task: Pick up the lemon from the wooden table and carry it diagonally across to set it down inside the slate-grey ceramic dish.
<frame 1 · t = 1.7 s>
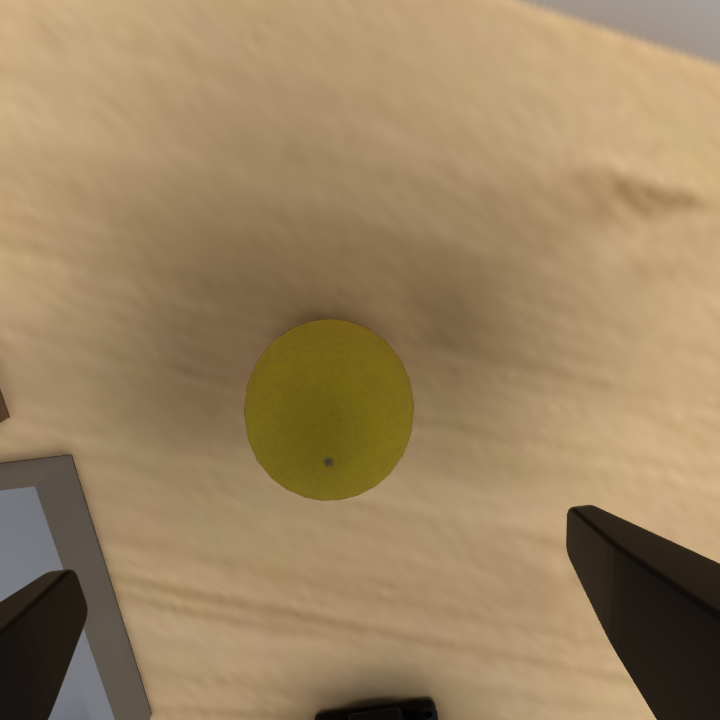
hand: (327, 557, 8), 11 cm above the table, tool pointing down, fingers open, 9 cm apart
lemon: (331, 367, 20), on the table
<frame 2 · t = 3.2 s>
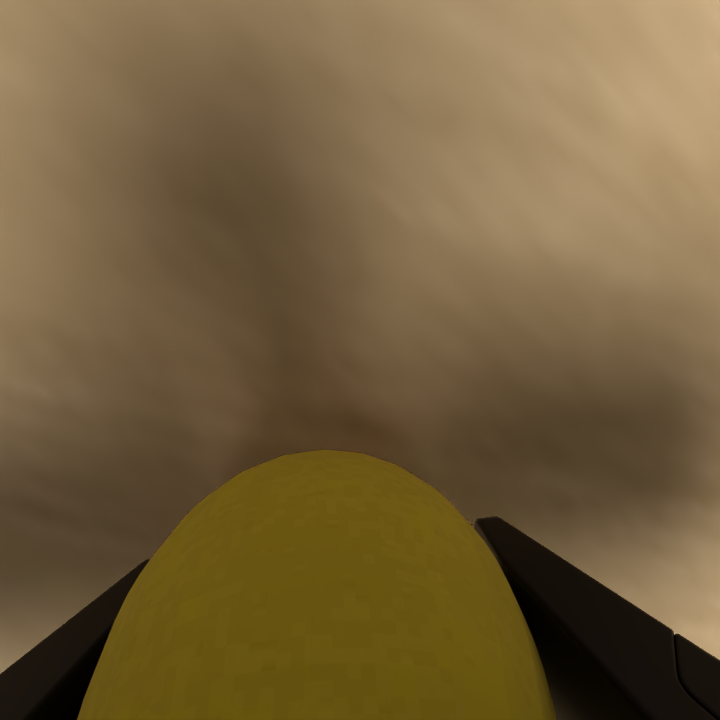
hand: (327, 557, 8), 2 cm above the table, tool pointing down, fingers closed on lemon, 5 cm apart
lemon: (328, 499, 10), on the table, touching gripper
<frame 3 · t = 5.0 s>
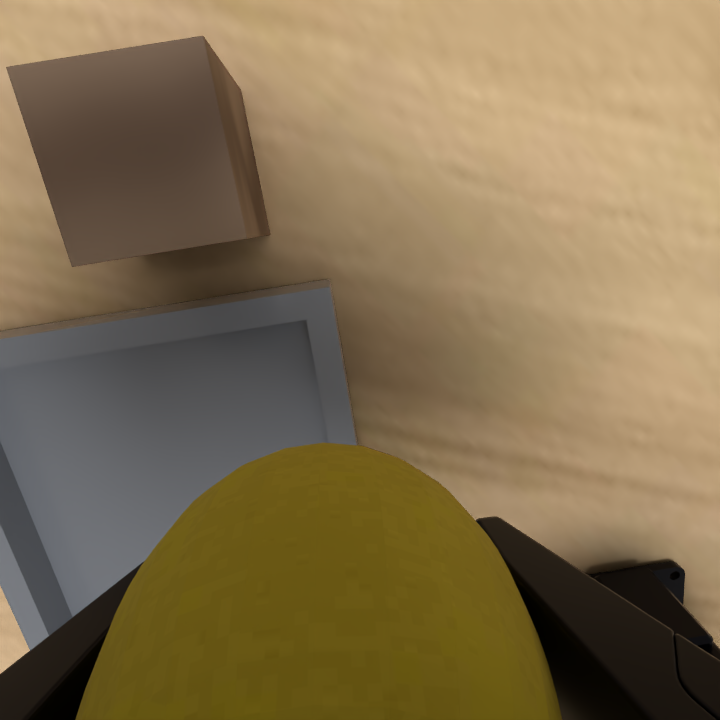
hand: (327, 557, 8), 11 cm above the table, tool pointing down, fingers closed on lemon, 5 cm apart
dish: (190, 475, 20), on the table
lemon: (329, 494, 10), point 10 cm above the table, touching gripper
walnut block: (189, 176, 17), on the table
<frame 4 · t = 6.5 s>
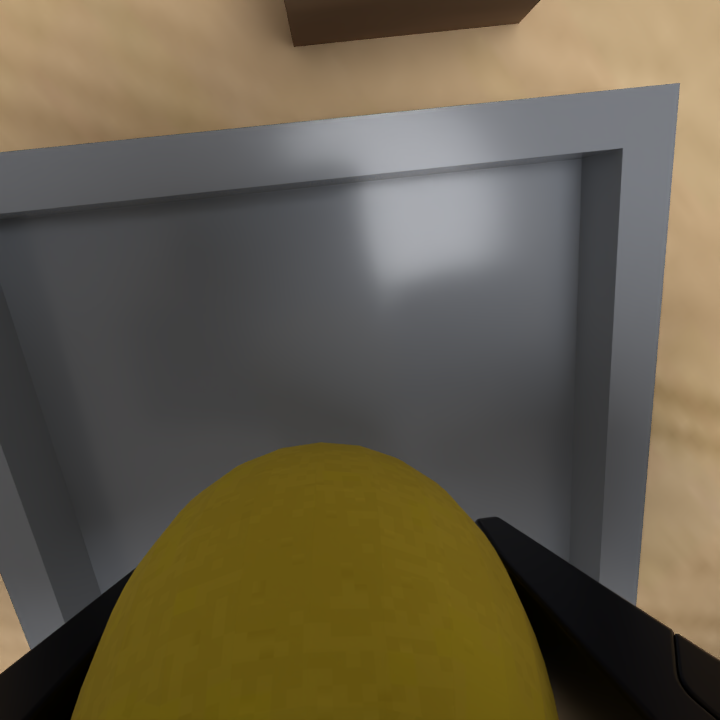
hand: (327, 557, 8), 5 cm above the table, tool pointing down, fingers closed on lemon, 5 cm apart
dish: (324, 441, 13), on the table
lemon: (327, 494, 10), point 3 cm above the table, touching gripper
when the fingers open (4 cm above the table, at t = 7.0 s): lemon drops 1 cm, resting on dish.
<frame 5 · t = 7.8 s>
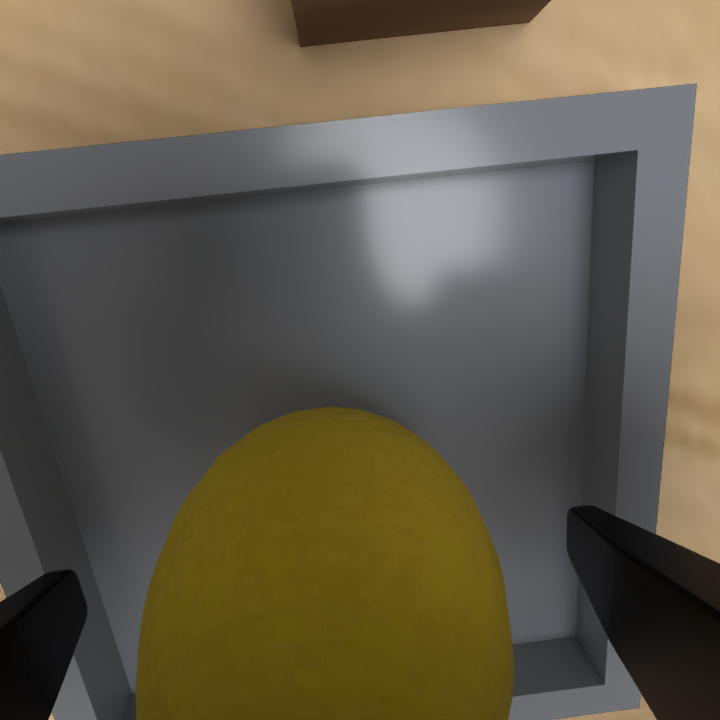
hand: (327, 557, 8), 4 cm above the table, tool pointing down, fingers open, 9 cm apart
dish: (329, 447, 13), on the table
lemon: (333, 459, 12), point 1 cm above the table, touching dish
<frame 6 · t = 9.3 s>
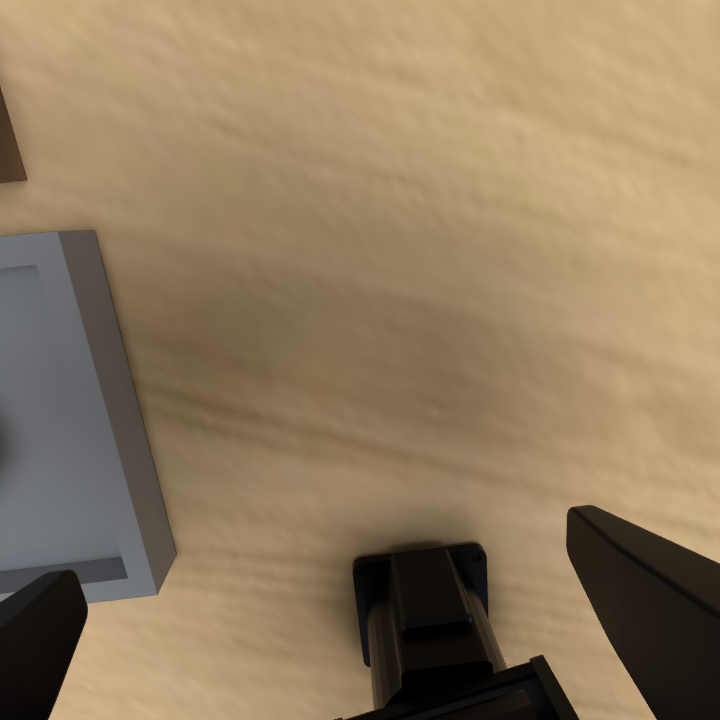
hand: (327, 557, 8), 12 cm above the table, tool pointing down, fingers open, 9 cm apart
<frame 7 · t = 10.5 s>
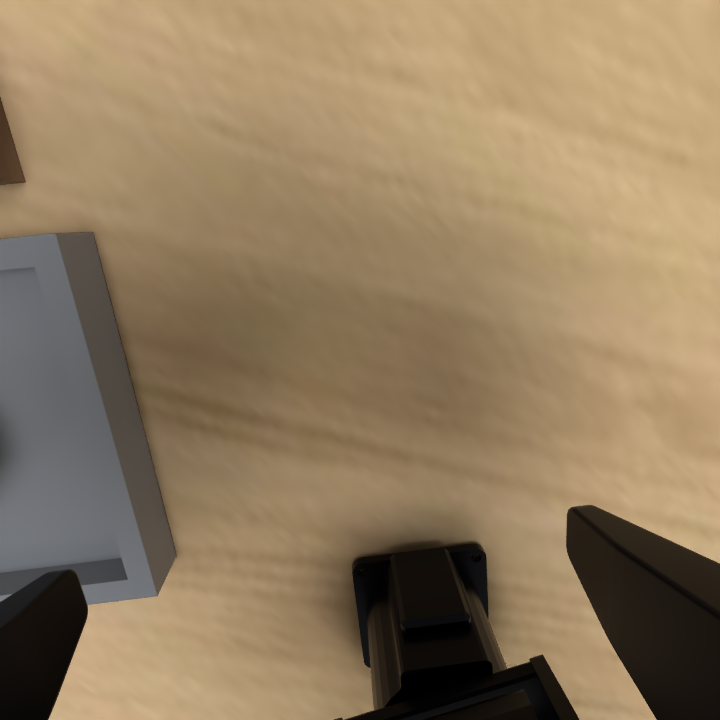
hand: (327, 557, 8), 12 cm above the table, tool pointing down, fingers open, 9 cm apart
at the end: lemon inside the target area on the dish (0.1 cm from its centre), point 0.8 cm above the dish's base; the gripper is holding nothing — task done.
